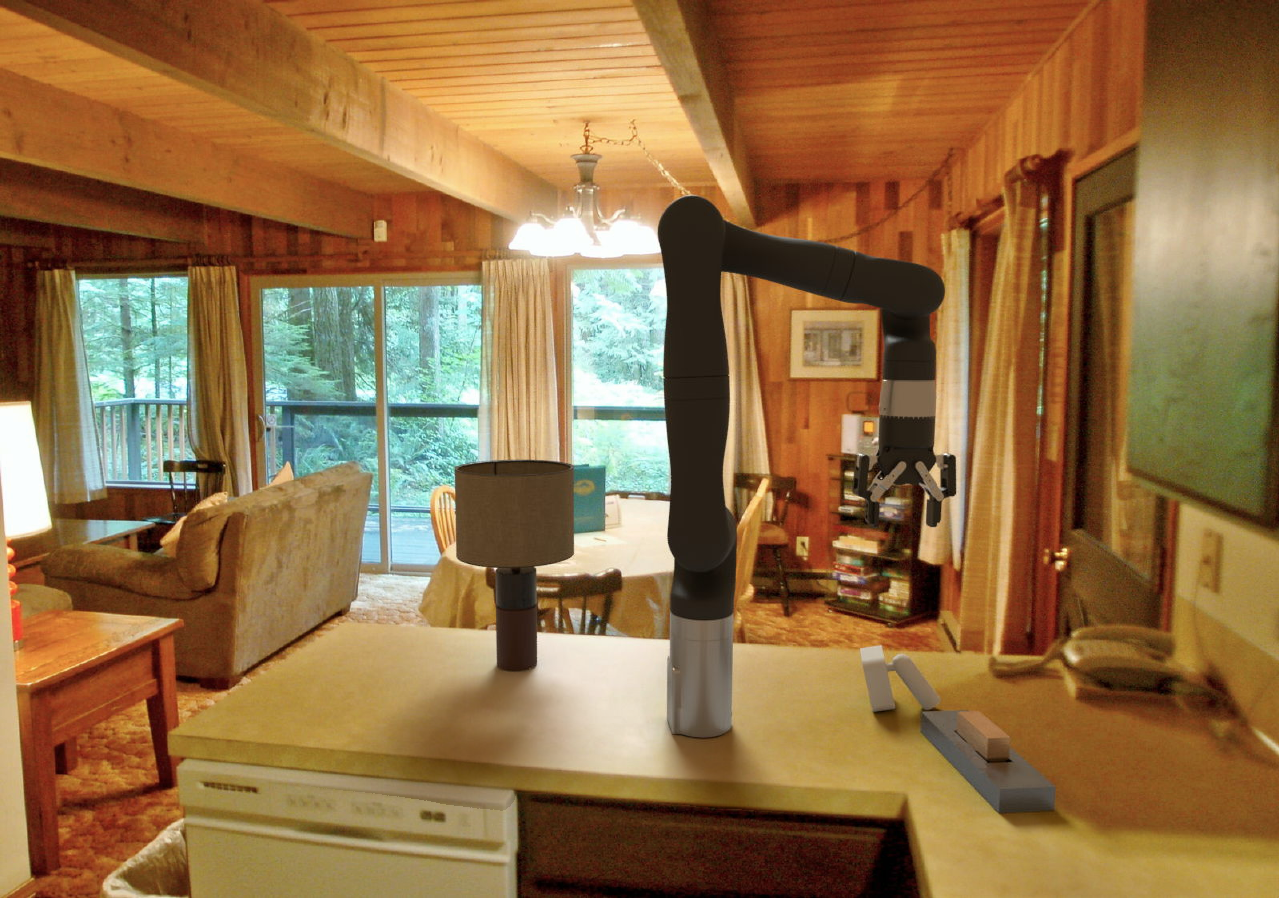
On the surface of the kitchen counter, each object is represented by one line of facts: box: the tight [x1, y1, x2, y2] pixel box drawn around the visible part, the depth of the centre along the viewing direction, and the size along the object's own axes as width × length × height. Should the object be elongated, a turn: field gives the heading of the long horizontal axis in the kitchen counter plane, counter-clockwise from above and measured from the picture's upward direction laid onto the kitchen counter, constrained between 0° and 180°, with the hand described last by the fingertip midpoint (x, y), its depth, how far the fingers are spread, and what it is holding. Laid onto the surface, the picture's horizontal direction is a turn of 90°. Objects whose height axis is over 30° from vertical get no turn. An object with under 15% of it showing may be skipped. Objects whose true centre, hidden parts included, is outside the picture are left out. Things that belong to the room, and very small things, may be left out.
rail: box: [920, 709, 1057, 814], centre depth 112 cm, size 22×7×3 cm, turn 5°
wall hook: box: [859, 644, 941, 713], centre depth 131 cm, size 8×10×10 cm
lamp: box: [454, 459, 575, 672], centre depth 147 cm, size 20×20×35 cm
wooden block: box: [957, 710, 1011, 763], centre depth 112 cm, size 8×3×6 cm, turn 6°
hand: (902, 526), depth 120 cm, fingers open, 8 cm apart
